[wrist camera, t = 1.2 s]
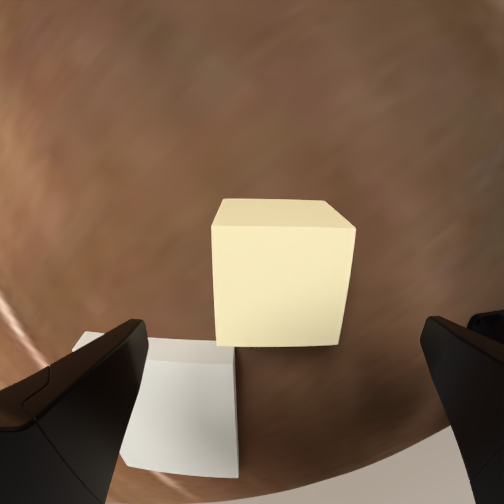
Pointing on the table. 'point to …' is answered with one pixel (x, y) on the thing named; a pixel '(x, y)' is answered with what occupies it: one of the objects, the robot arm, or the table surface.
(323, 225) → the sticky note cube
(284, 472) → the table surface
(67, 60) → the table surface
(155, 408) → the notebook
